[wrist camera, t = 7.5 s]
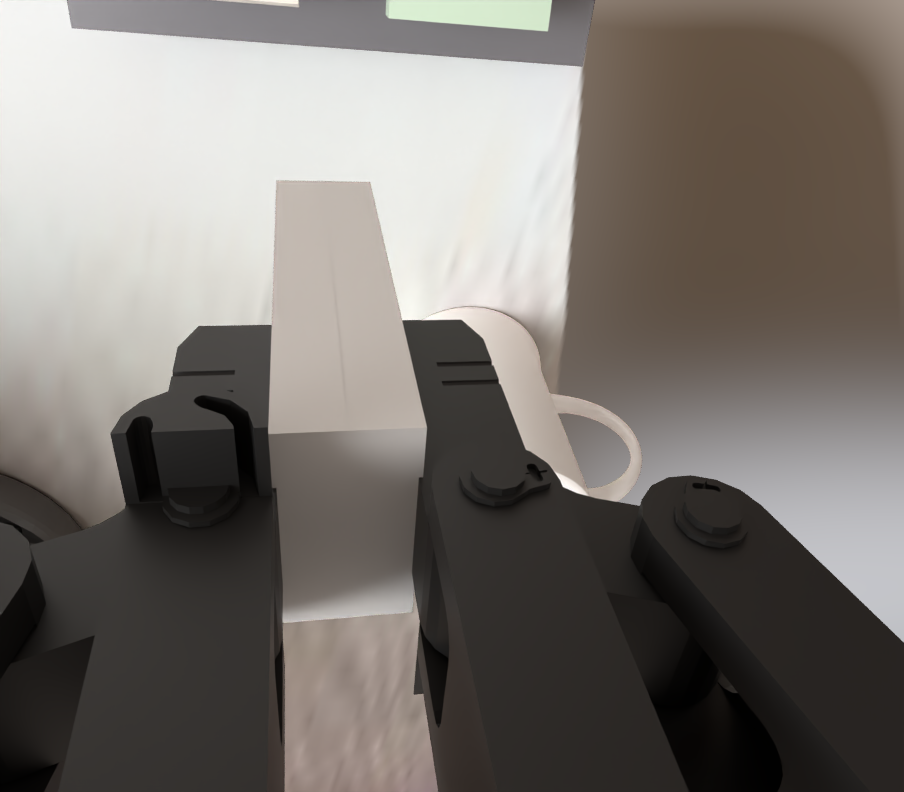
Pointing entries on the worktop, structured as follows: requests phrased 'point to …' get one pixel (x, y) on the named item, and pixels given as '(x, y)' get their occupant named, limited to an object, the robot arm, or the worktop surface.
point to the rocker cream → (269, 2)
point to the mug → (543, 402)
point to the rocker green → (475, 12)
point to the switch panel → (343, 27)
